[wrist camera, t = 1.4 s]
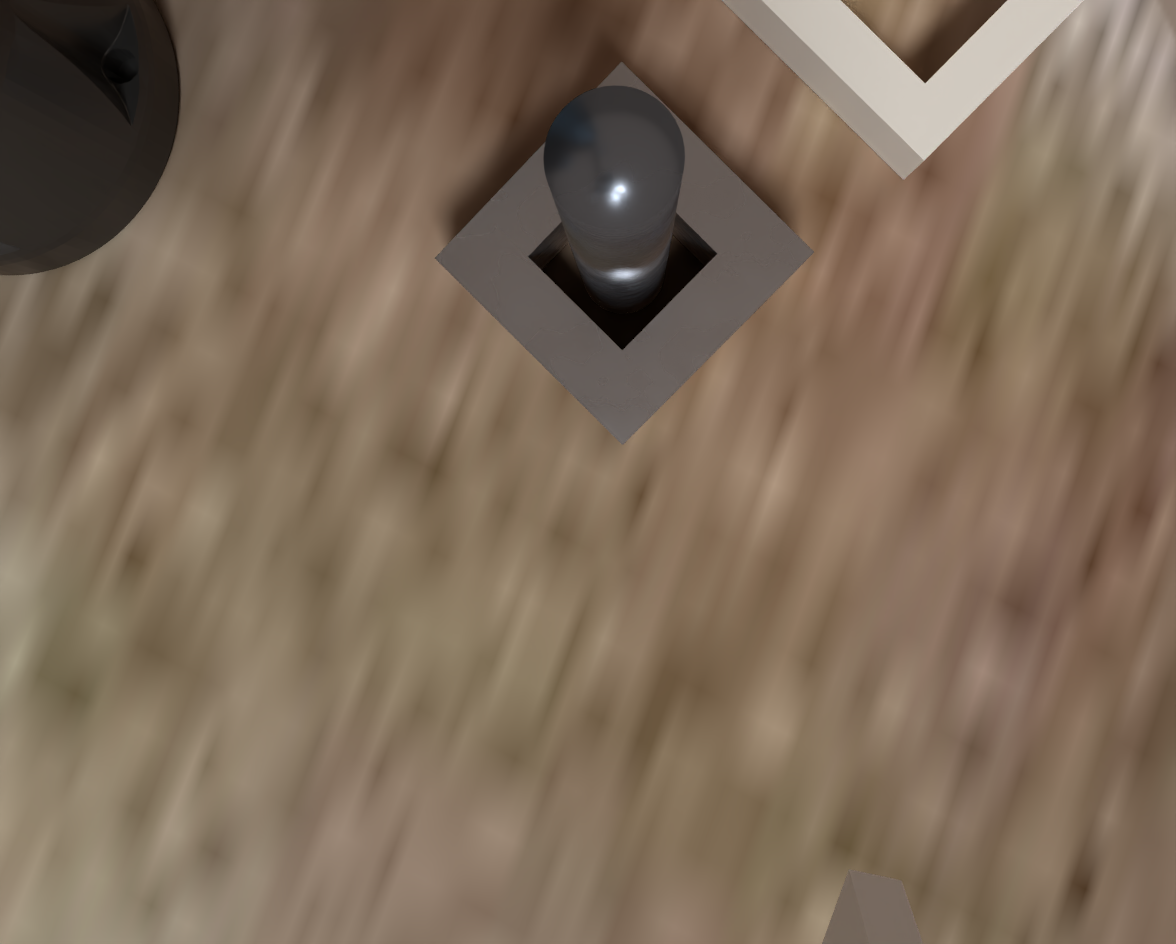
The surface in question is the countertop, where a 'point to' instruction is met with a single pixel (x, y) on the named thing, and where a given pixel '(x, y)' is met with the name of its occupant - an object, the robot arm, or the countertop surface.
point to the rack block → (897, 68)
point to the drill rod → (617, 191)
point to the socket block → (678, 333)
